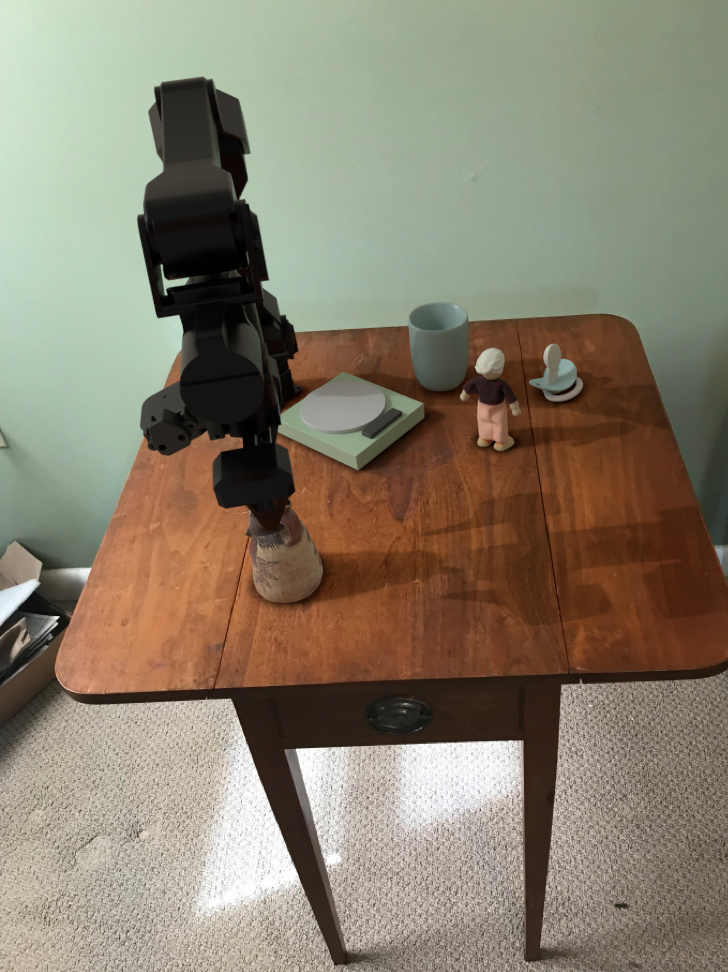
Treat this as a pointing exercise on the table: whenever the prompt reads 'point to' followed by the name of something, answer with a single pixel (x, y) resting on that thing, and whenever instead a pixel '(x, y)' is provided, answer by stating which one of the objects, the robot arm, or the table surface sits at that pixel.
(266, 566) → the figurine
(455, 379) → the cup
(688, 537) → the table surface
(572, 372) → the pacifier
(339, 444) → the kitchen scale
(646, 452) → the table surface
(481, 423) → the grandmother figurine
